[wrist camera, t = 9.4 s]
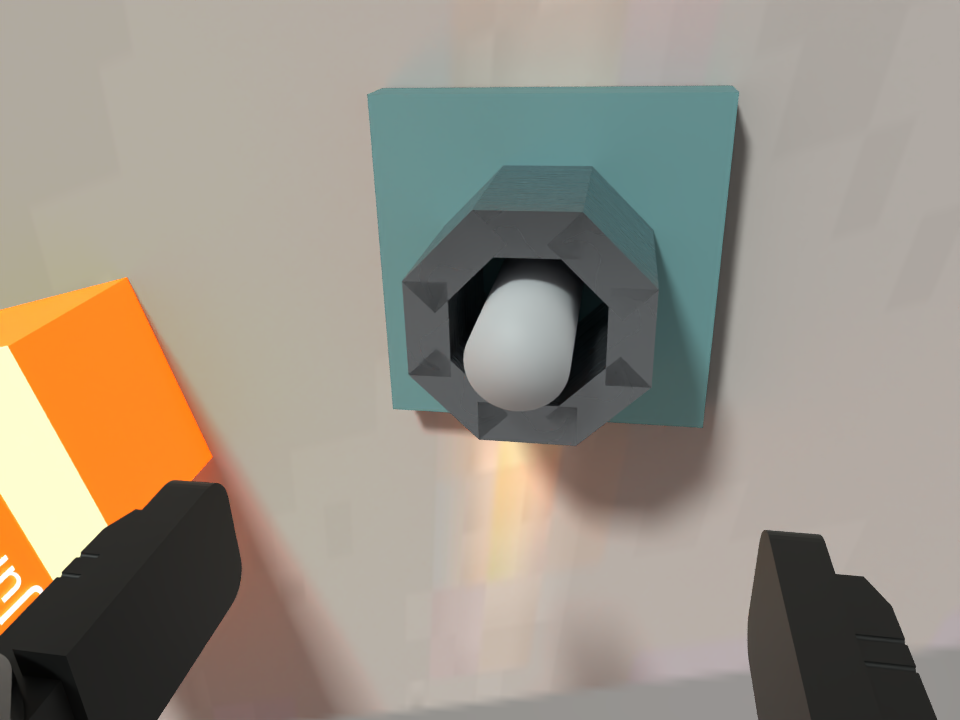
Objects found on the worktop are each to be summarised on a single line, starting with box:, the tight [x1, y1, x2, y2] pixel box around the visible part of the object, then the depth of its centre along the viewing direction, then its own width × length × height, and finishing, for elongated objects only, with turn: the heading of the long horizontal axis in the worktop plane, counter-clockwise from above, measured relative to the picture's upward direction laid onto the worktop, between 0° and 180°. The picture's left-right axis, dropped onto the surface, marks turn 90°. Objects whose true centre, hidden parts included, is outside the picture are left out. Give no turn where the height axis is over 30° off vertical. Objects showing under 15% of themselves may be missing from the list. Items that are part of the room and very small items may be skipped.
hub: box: [402, 165, 659, 446], centre depth 21 cm, size 6×6×5 cm
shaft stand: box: [367, 86, 739, 428], centre depth 21 cm, size 10×10×8 cm
